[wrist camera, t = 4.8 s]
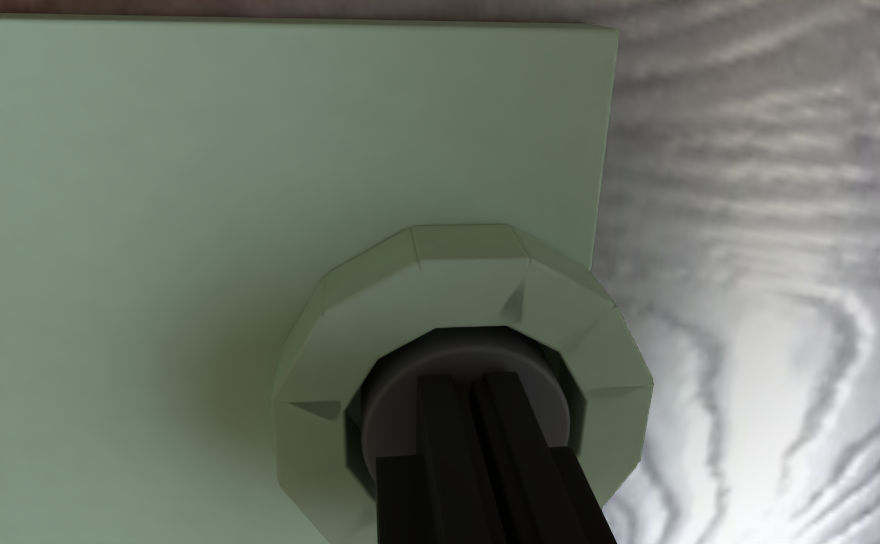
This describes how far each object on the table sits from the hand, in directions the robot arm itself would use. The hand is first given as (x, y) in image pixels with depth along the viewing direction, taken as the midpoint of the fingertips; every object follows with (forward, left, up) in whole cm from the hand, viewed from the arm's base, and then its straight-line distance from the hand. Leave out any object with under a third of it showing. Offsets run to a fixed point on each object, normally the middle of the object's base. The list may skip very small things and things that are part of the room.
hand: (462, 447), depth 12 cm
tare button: (0, 0, -2) cm, 2 cm away
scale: (+5, 0, -3) cm, 6 cm away
